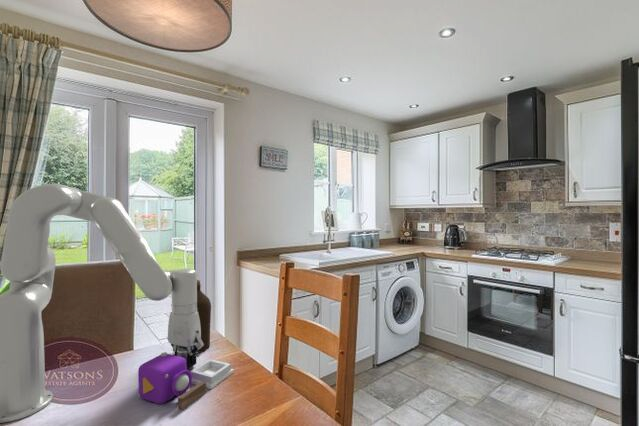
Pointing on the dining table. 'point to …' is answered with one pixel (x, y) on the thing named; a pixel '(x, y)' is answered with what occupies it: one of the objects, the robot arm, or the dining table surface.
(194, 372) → the tray
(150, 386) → the toy camera
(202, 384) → the rail
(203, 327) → the olive oil
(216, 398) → the dining table surface
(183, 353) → the lens
